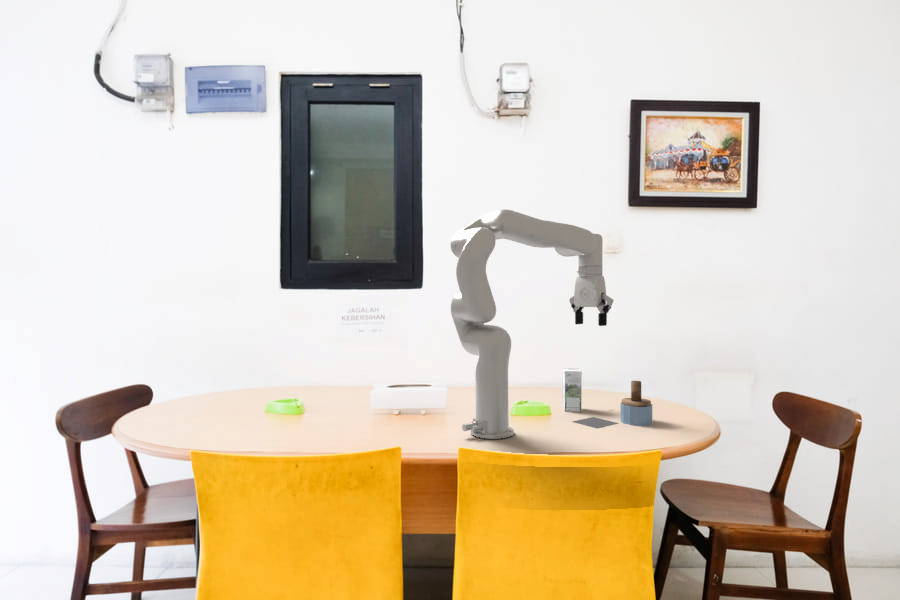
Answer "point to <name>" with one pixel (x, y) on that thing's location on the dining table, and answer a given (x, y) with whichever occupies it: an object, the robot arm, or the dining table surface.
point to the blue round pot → (636, 415)
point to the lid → (636, 396)
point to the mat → (595, 422)
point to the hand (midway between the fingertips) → (590, 324)
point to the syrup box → (572, 389)
